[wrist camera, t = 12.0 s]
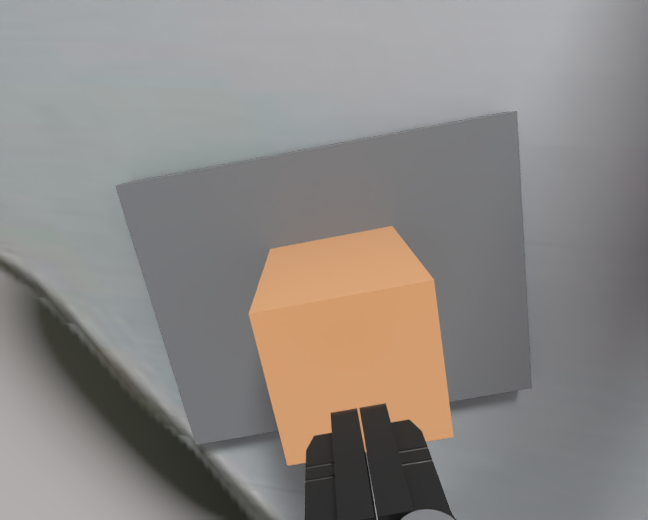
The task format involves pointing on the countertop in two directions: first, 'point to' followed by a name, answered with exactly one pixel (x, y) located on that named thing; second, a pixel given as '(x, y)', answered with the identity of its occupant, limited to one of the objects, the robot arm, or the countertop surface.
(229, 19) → the countertop surface
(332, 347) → the peach foam cube
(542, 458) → the countertop surface
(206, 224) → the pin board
